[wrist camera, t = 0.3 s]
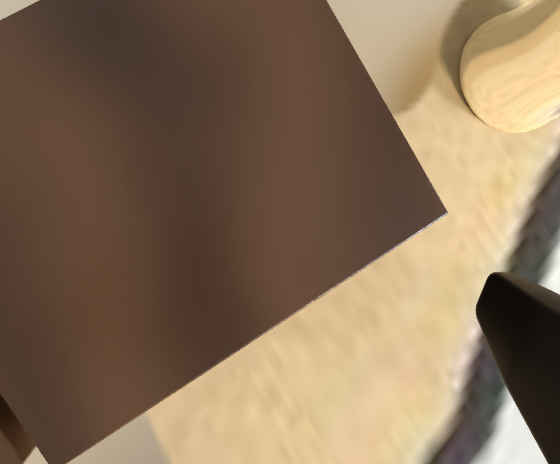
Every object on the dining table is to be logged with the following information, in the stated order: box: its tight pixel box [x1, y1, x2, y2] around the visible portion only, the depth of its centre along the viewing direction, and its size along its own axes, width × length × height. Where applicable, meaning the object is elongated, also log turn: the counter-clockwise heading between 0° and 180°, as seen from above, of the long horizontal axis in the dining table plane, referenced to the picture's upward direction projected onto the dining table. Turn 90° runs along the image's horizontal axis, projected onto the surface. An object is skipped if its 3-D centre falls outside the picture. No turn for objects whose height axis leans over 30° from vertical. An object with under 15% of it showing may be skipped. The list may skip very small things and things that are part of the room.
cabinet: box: [0, 0, 448, 464], centre depth 20 cm, size 17×14×6 cm
